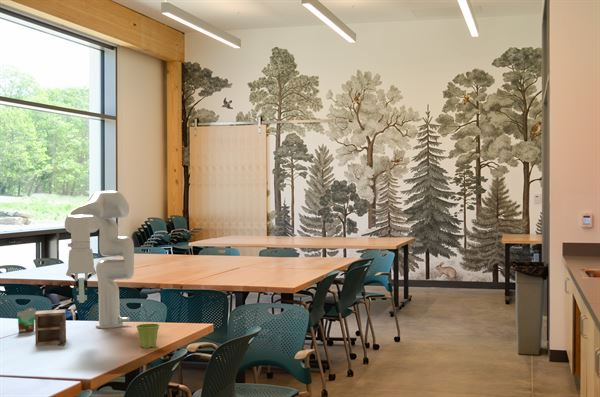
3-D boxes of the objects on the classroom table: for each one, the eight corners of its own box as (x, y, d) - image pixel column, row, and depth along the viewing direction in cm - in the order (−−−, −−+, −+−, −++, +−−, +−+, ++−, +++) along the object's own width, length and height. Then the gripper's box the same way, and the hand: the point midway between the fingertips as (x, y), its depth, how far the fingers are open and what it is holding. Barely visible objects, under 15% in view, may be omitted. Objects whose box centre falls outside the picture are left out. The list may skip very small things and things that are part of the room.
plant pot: (154, 349, 311) (154, 327, 311) (132, 348, 313) (132, 327, 313) (163, 344, 320) (163, 323, 320) (142, 344, 322) (141, 323, 322)
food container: (30, 333, 351) (30, 311, 351) (17, 333, 351) (17, 311, 351) (40, 328, 364) (40, 307, 363) (27, 328, 364) (27, 307, 364)
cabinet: (66, 339, 335) (65, 309, 335) (65, 345, 322) (64, 314, 322) (36, 341, 332) (36, 311, 332) (34, 347, 319) (34, 315, 319)
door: (86, 302, 316) (86, 277, 317) (76, 303, 315) (76, 278, 316) (86, 300, 331) (86, 277, 332) (77, 301, 330) (76, 277, 331)
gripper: (60, 247, 316) (61, 292, 317) (100, 245, 321) (101, 290, 321) (61, 246, 324) (62, 289, 324) (100, 244, 328) (101, 288, 328)
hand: (81, 289), depth 322 cm, fingers closed on door, 2 cm apart
